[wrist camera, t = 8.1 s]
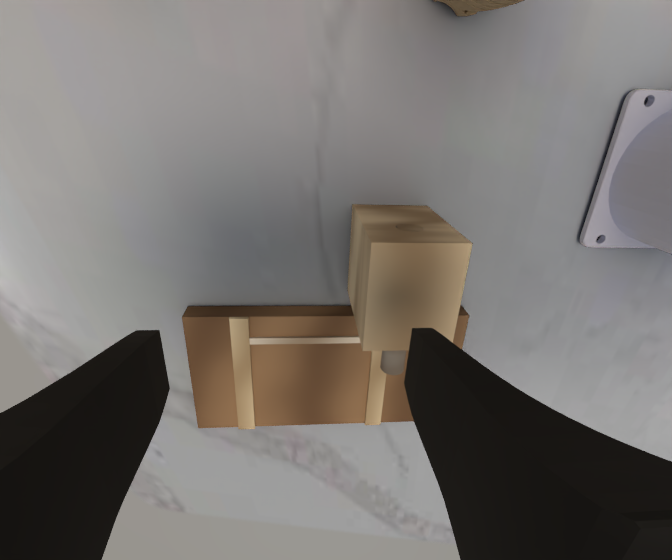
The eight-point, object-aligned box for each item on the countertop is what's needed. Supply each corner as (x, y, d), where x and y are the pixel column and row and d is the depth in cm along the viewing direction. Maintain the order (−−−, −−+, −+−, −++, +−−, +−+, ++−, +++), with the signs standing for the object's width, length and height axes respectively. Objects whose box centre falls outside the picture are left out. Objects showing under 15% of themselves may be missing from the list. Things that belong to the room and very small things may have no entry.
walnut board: (461, 305, 23) (470, 317, 22) (440, 407, 26) (447, 422, 25) (188, 306, 22) (181, 319, 20) (202, 413, 25) (197, 430, 24)
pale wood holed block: (426, 205, 20) (472, 243, 15) (409, 326, 24) (442, 393, 18) (352, 204, 20) (371, 242, 15) (345, 326, 23) (359, 395, 18)
